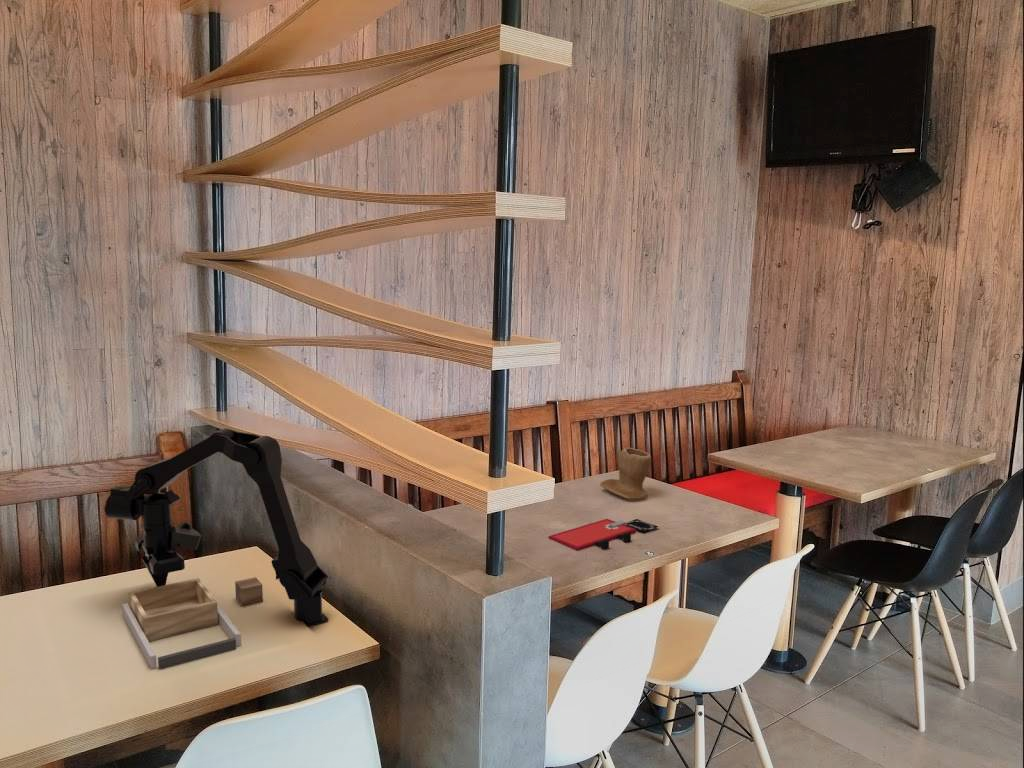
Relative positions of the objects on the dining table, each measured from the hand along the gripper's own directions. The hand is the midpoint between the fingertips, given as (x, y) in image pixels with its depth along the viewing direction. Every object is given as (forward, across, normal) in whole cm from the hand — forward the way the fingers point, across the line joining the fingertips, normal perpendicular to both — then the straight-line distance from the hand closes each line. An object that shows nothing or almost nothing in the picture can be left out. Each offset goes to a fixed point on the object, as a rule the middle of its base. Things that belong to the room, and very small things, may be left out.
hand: (161, 589), depth 181 cm
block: (+4, -10, -16) cm, 19 cm away
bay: (+4, -16, 0) cm, 16 cm away
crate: (+2, -11, 0) cm, 11 cm away
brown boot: (+4, +4, -141) cm, 141 cm away
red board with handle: (+4, -19, -112) cm, 113 cm away
